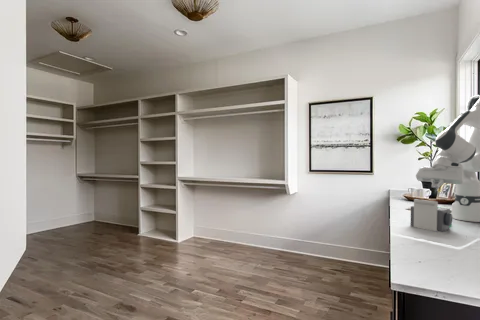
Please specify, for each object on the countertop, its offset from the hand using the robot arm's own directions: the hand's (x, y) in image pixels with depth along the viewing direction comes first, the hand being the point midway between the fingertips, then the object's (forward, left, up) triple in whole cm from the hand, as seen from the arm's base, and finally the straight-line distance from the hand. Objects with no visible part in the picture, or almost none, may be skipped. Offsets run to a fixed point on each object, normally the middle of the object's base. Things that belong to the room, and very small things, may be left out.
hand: (435, 187), depth 143 cm
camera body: (+2, -1, -21) cm, 21 cm away
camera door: (+7, -1, -20) cm, 21 cm away
